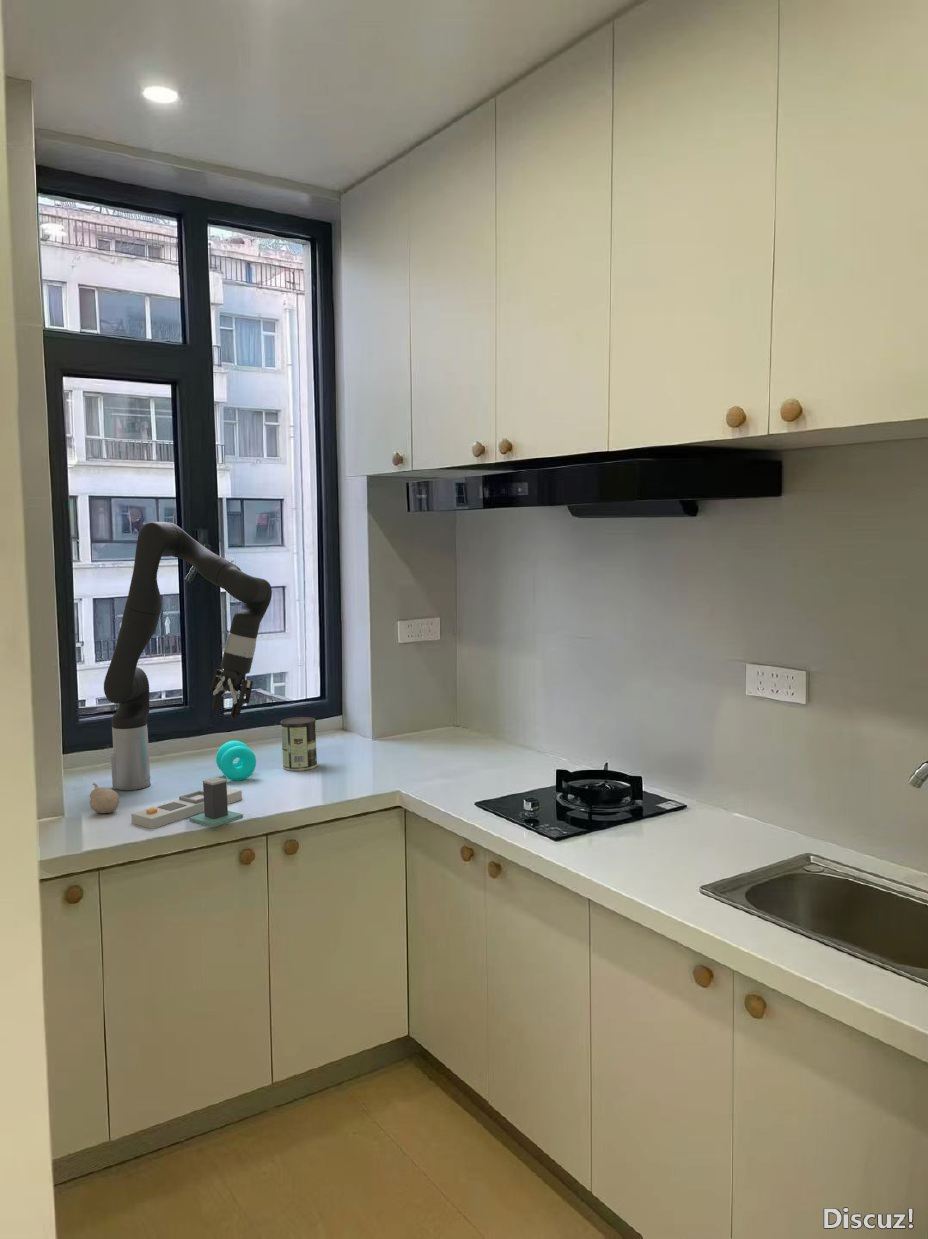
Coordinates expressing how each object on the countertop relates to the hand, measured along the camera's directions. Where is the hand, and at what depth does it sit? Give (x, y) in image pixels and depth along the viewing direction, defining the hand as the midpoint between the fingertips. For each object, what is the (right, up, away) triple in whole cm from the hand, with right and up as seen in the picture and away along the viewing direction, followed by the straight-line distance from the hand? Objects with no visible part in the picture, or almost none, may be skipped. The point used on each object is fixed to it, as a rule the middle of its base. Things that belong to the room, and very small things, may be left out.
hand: (224, 714), depth 242 cm
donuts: (-4, -21, +27) cm, 35 cm away
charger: (+1, -24, -11) cm, 26 cm away
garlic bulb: (-29, -25, -4) cm, 39 cm away
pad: (+1, -25, -11) cm, 27 cm away
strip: (-8, -24, -3) cm, 26 cm away
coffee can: (+13, -20, +38) cm, 45 cm away
